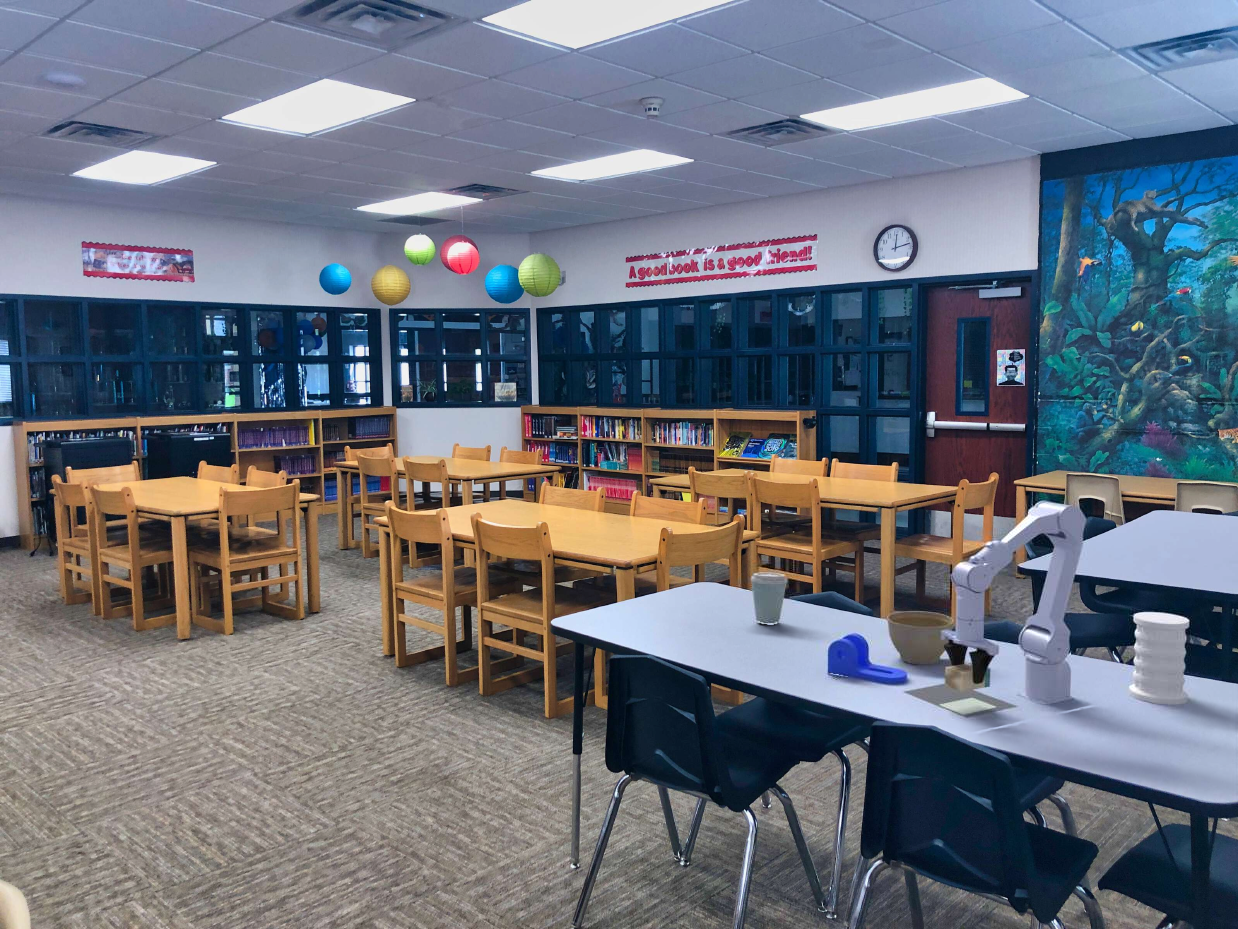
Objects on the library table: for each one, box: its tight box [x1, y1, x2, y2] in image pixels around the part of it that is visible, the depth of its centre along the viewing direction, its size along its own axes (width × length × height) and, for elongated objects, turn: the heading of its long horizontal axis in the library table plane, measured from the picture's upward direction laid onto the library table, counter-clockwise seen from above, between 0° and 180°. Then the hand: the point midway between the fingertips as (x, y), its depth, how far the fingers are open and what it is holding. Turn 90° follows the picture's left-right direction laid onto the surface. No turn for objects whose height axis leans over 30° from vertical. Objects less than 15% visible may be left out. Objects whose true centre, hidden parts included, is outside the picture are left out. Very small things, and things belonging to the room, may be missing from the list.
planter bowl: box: [886, 610, 955, 665], centre depth 245 cm, size 16×16×11 cm
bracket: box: [827, 632, 908, 685], centre depth 232 cm, size 18×8×9 cm, turn 52°
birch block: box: [944, 662, 991, 692], centre depth 209 cm, size 5×8×4 cm, turn 116°
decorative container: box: [1128, 611, 1190, 706], centre depth 216 cm, size 12×12×18 cm
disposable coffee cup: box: [750, 572, 788, 623], centre depth 284 cm, size 11×11×15 cm
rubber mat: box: [903, 683, 1018, 718], centre depth 215 cm, size 15×19×1 cm
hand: (968, 679), depth 209 cm, fingers closed on birch block, 5 cm apart
